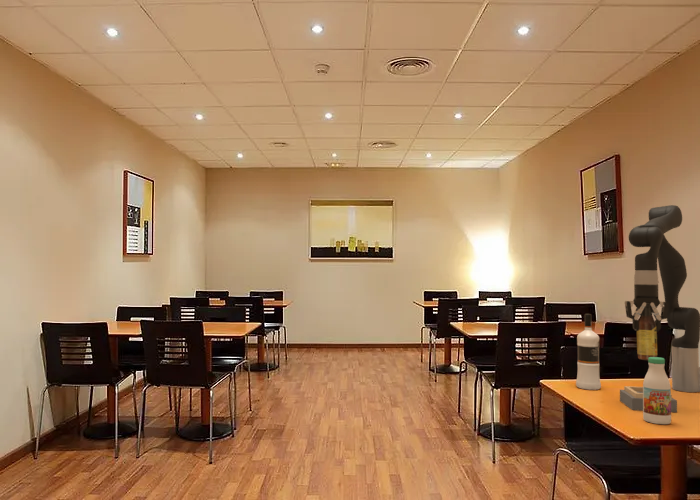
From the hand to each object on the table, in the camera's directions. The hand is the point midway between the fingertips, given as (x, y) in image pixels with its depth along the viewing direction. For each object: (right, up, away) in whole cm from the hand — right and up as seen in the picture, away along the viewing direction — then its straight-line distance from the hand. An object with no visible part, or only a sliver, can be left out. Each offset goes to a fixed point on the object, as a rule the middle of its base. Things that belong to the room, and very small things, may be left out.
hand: (646, 330), depth 194 cm
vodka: (-8, -28, +29) cm, 41 cm away
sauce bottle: (0, -10, 0) cm, 10 cm away
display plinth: (0, -27, -1) cm, 27 cm away
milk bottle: (-8, -26, -21) cm, 34 cm away
